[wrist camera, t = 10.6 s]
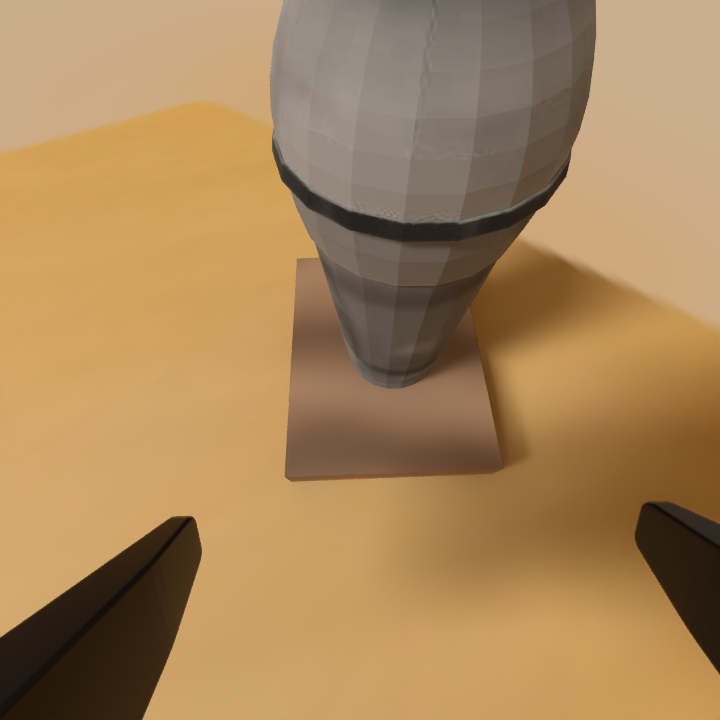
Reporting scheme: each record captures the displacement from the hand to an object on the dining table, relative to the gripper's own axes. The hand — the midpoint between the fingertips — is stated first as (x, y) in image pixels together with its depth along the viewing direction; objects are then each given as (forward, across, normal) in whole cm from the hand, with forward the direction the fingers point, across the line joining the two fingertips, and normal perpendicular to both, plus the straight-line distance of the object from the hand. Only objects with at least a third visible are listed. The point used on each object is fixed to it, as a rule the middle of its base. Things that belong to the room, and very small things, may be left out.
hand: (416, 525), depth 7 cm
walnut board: (+14, 0, +1) cm, 14 cm away
